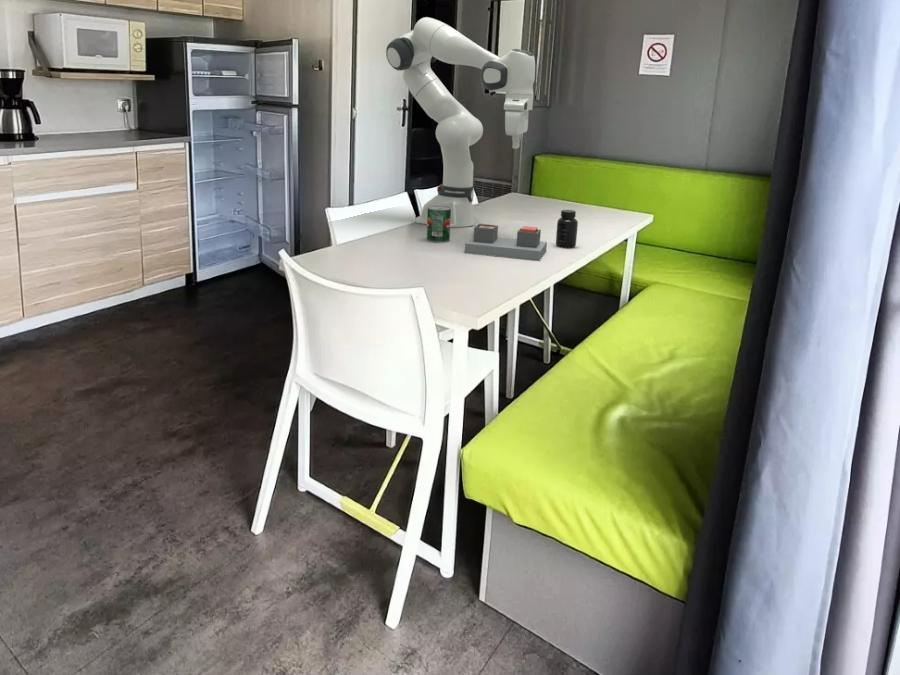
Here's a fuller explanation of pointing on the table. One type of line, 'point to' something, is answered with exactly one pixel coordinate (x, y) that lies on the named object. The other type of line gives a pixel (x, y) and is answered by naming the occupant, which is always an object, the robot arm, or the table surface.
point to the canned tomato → (438, 223)
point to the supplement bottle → (567, 229)
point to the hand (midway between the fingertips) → (515, 148)
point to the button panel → (506, 244)
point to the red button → (529, 229)
